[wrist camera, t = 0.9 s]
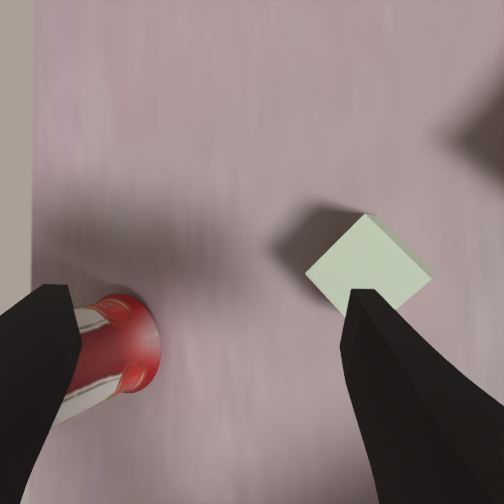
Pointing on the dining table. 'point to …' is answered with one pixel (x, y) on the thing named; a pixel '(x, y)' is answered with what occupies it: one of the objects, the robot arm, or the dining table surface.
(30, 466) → the robot arm
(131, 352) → the liquor
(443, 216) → the dining table surface
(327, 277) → the sage block
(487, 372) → the dining table surface
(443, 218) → the dining table surface
